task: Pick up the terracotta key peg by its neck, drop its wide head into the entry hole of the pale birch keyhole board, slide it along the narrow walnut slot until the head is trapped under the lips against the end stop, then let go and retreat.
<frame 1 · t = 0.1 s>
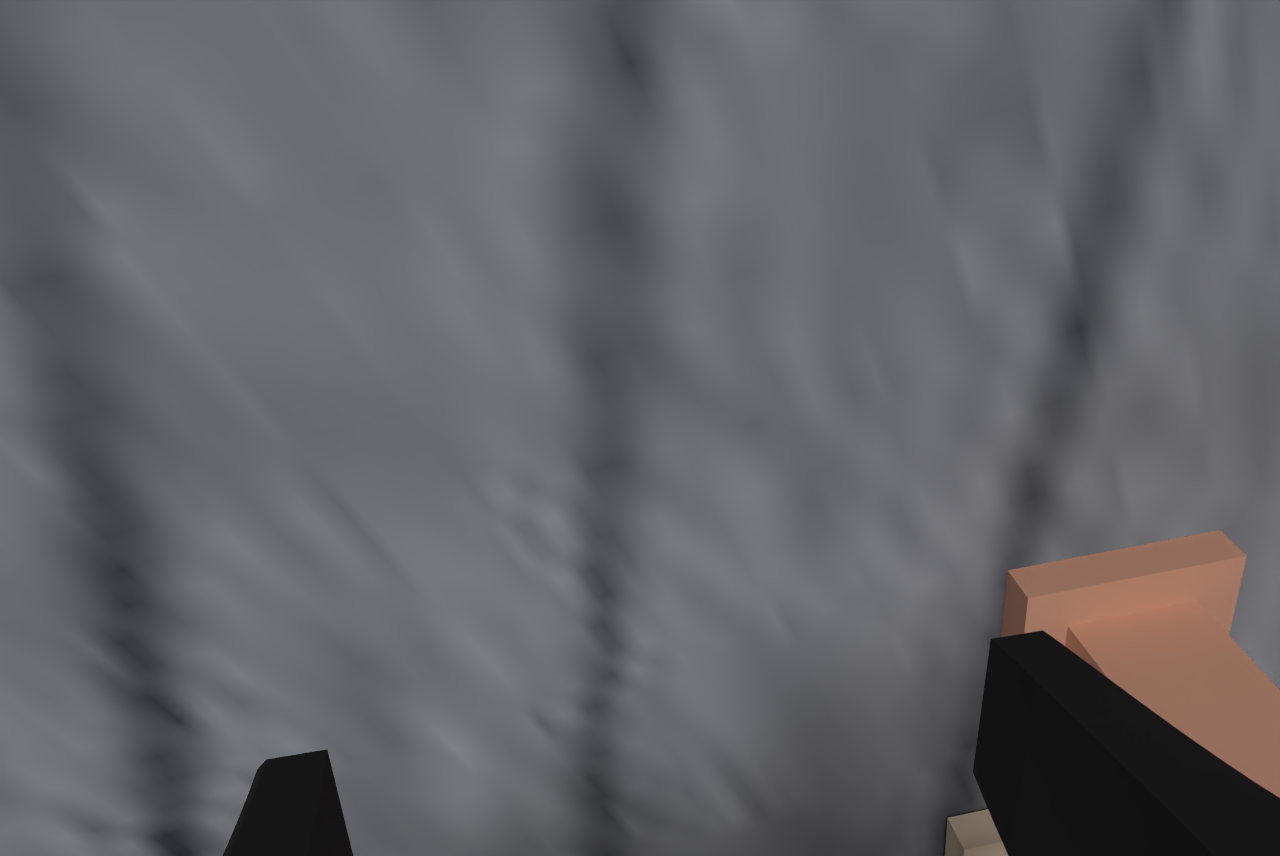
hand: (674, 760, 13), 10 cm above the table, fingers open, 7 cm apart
key peg: (1101, 636, 28), on the table
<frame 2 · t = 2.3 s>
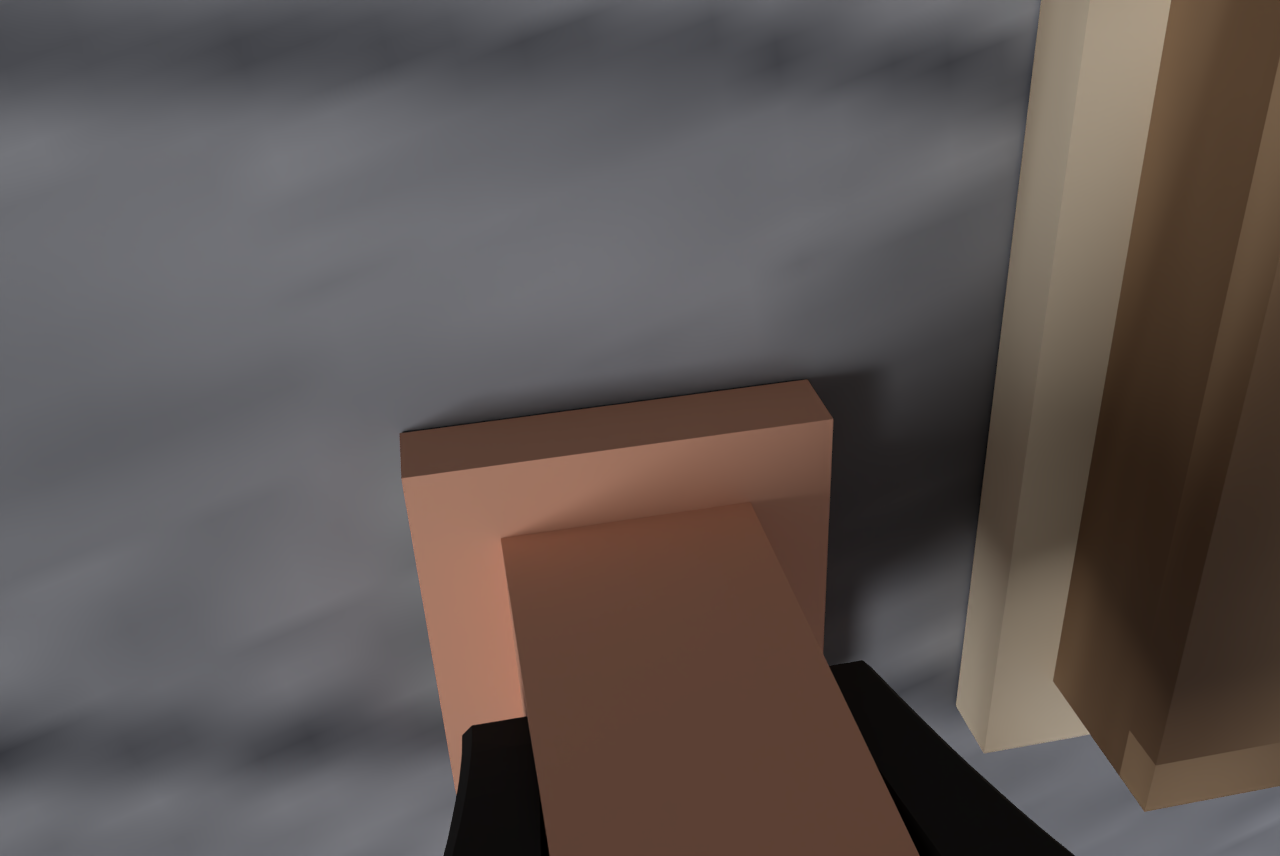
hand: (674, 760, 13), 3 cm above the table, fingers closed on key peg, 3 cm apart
key peg: (619, 570, 16), on the table, touching gripper
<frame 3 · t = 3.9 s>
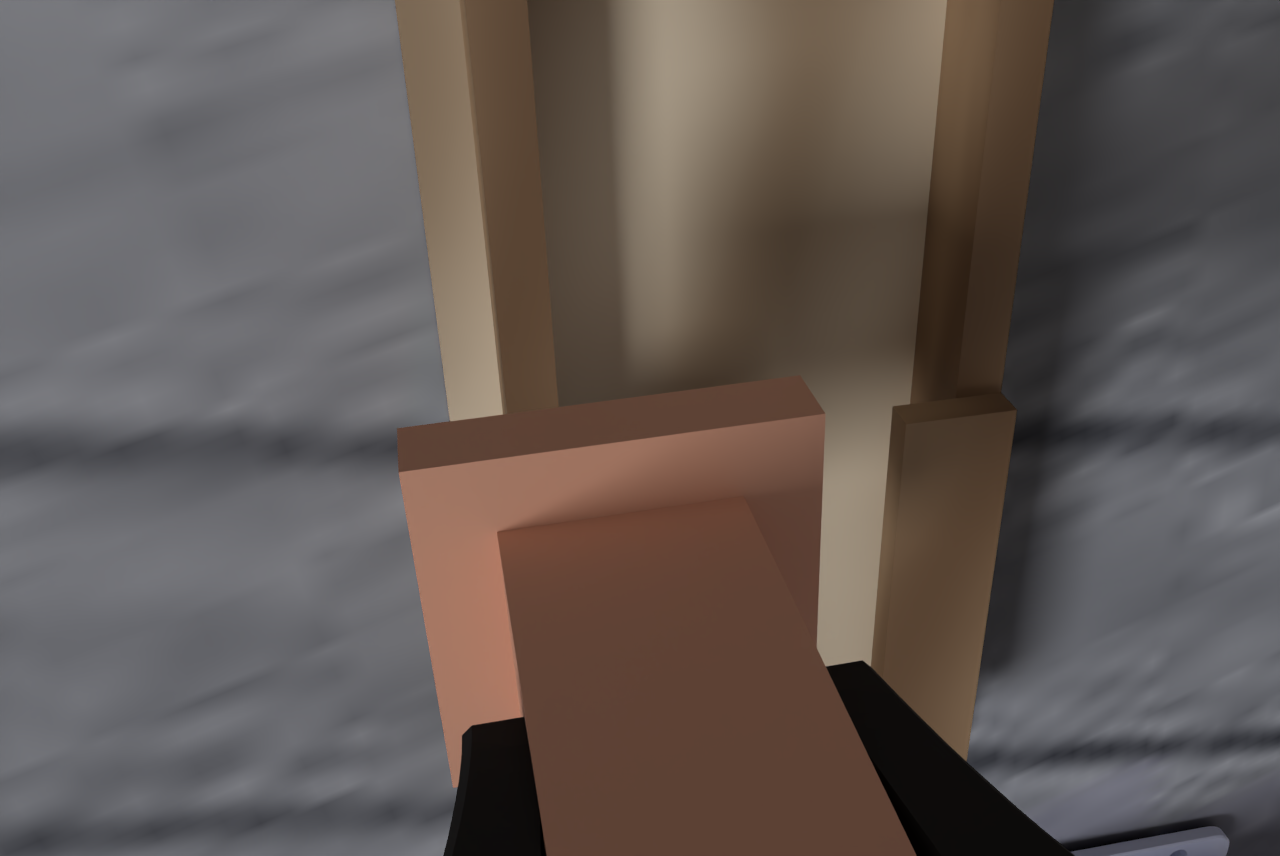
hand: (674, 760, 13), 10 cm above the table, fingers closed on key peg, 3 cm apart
keyhole board: (721, 417, 23), on the table
key peg: (614, 565, 16), point 6 cm above the table, touching gripper
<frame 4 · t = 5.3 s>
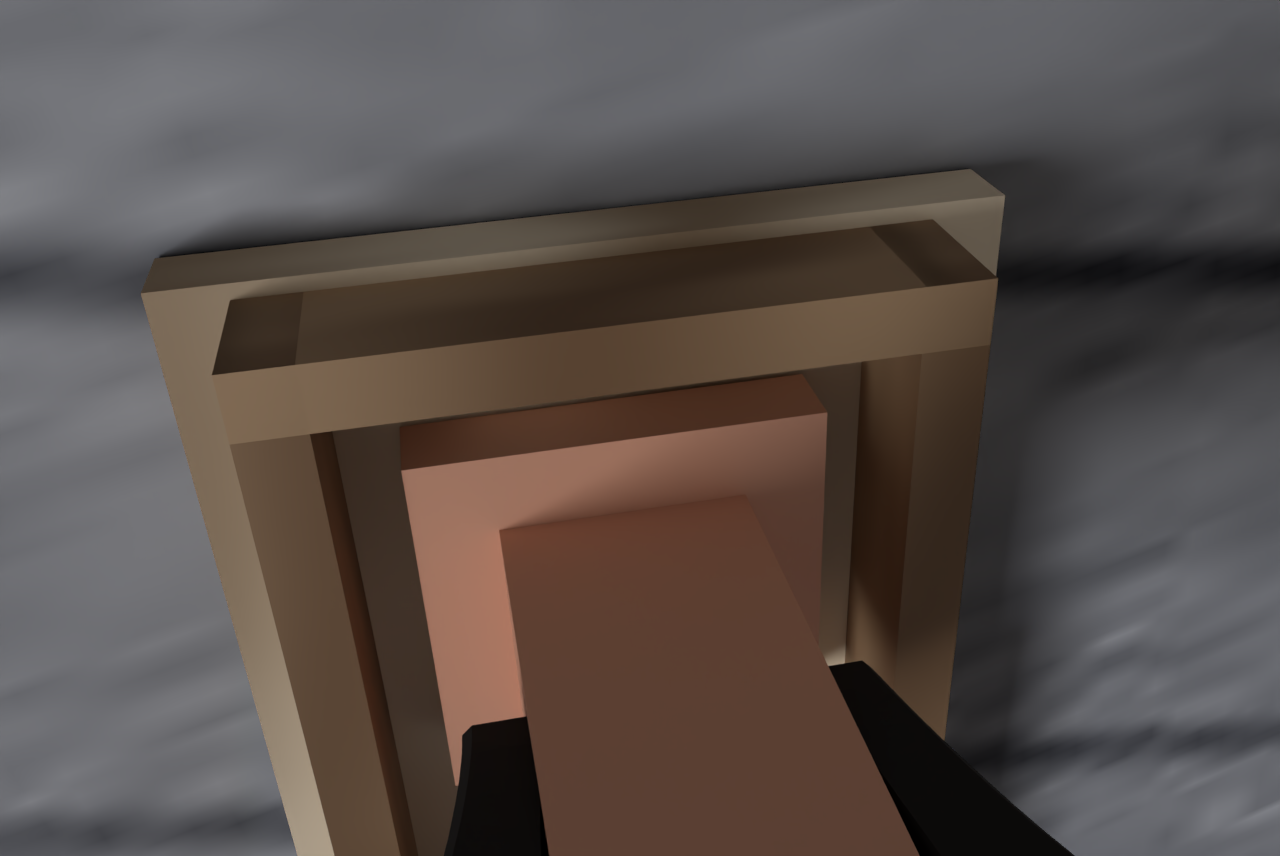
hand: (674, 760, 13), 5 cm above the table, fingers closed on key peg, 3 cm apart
keyhole board: (622, 769, 20), on the table
key peg: (616, 563, 16), point 1 cm above the table, touching gripper
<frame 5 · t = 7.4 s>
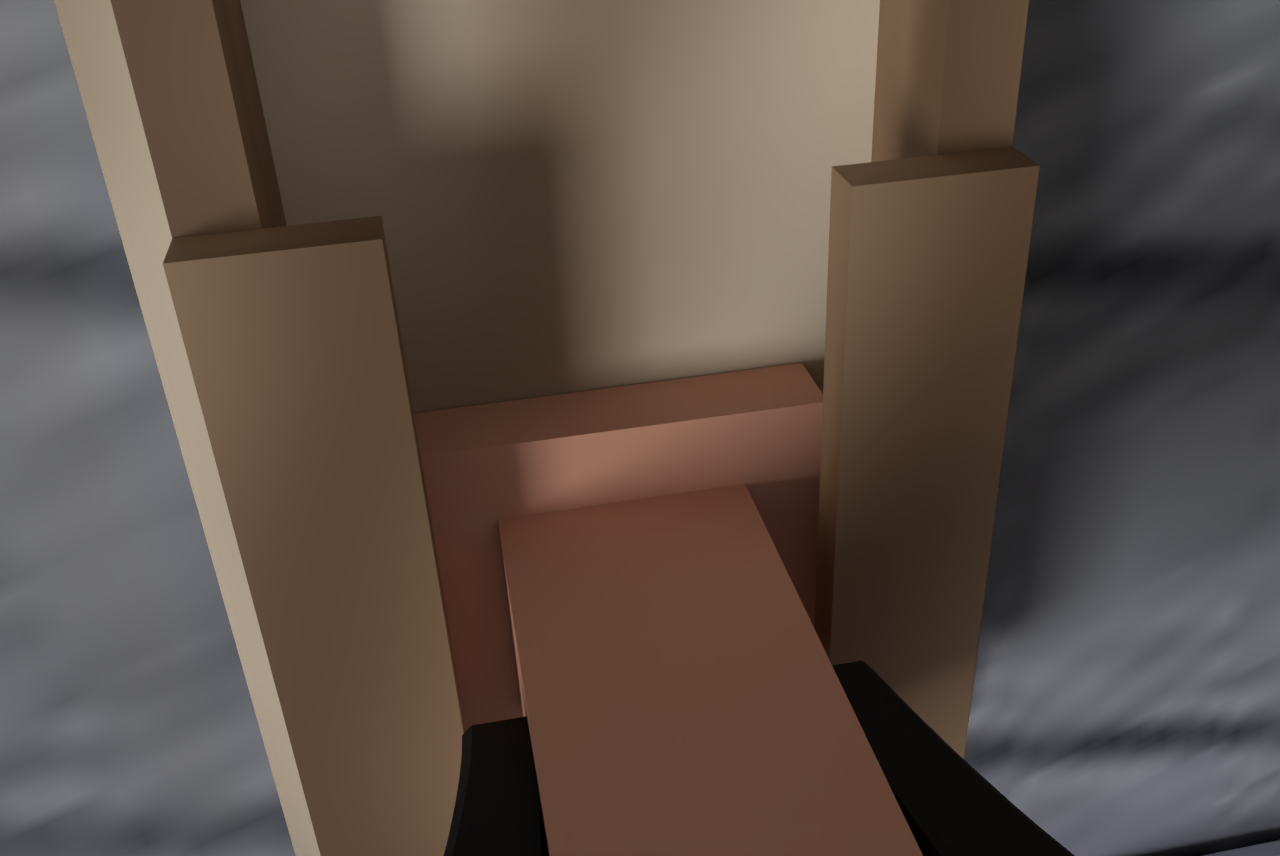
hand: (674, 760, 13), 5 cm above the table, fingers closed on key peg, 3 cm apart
keyhole board: (580, 231, 15), on the table
key peg: (615, 552, 16), point 1 cm above the table, touching gripper
when the fingers open (5 cm above the table, at t = 8.7 s): key peg stays where it is, resting on keyhole board.
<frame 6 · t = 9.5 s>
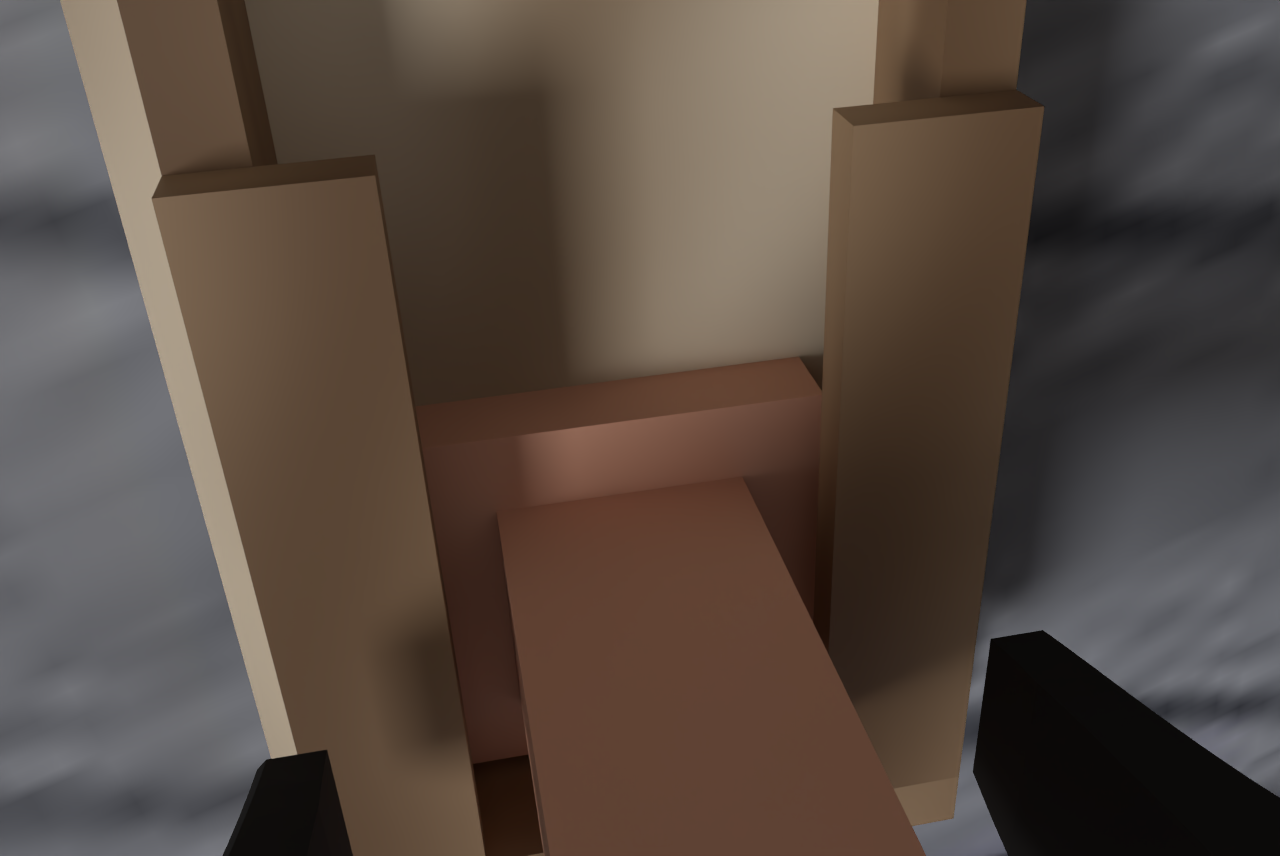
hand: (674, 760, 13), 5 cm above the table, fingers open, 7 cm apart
keyhole board: (578, 185, 15), on the table
key peg: (613, 546, 16), point 1 cm above the table, touching keyhole board
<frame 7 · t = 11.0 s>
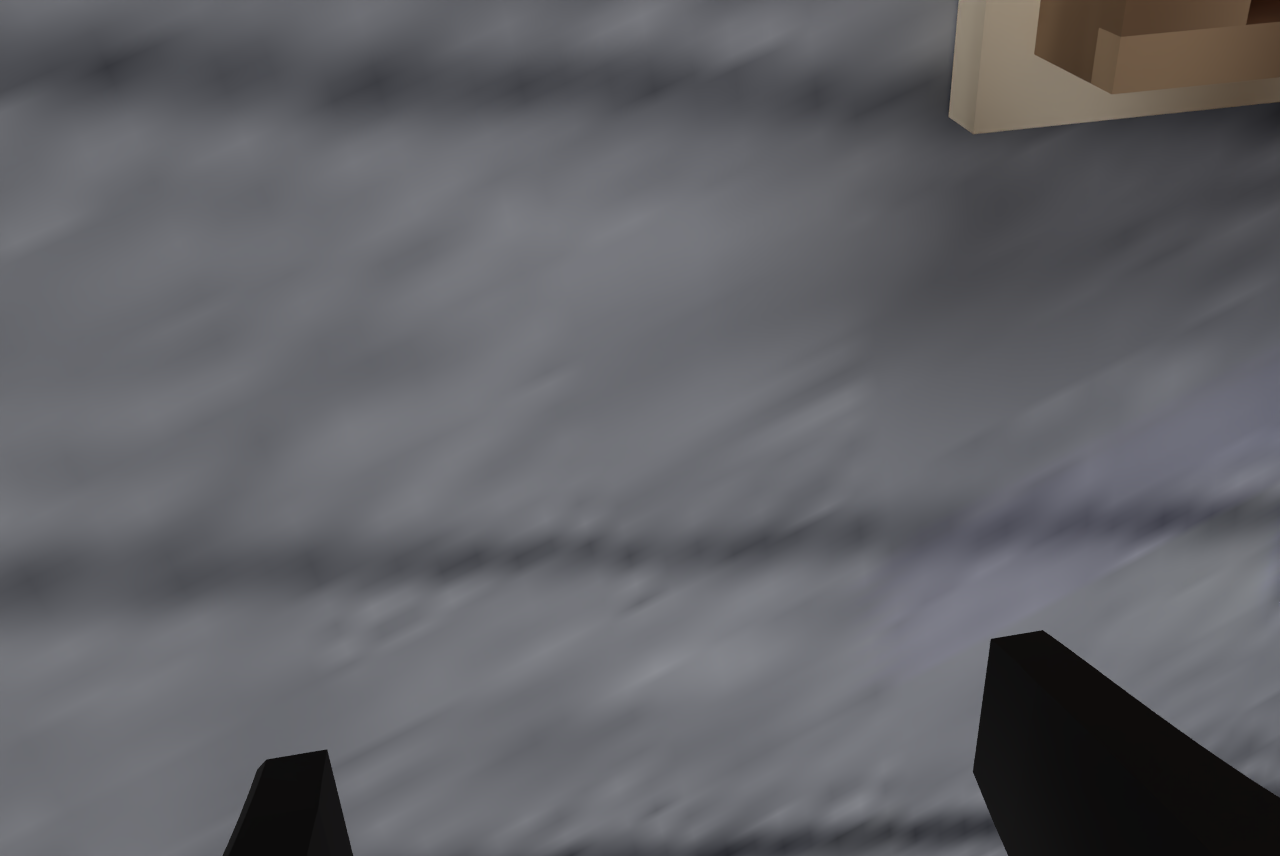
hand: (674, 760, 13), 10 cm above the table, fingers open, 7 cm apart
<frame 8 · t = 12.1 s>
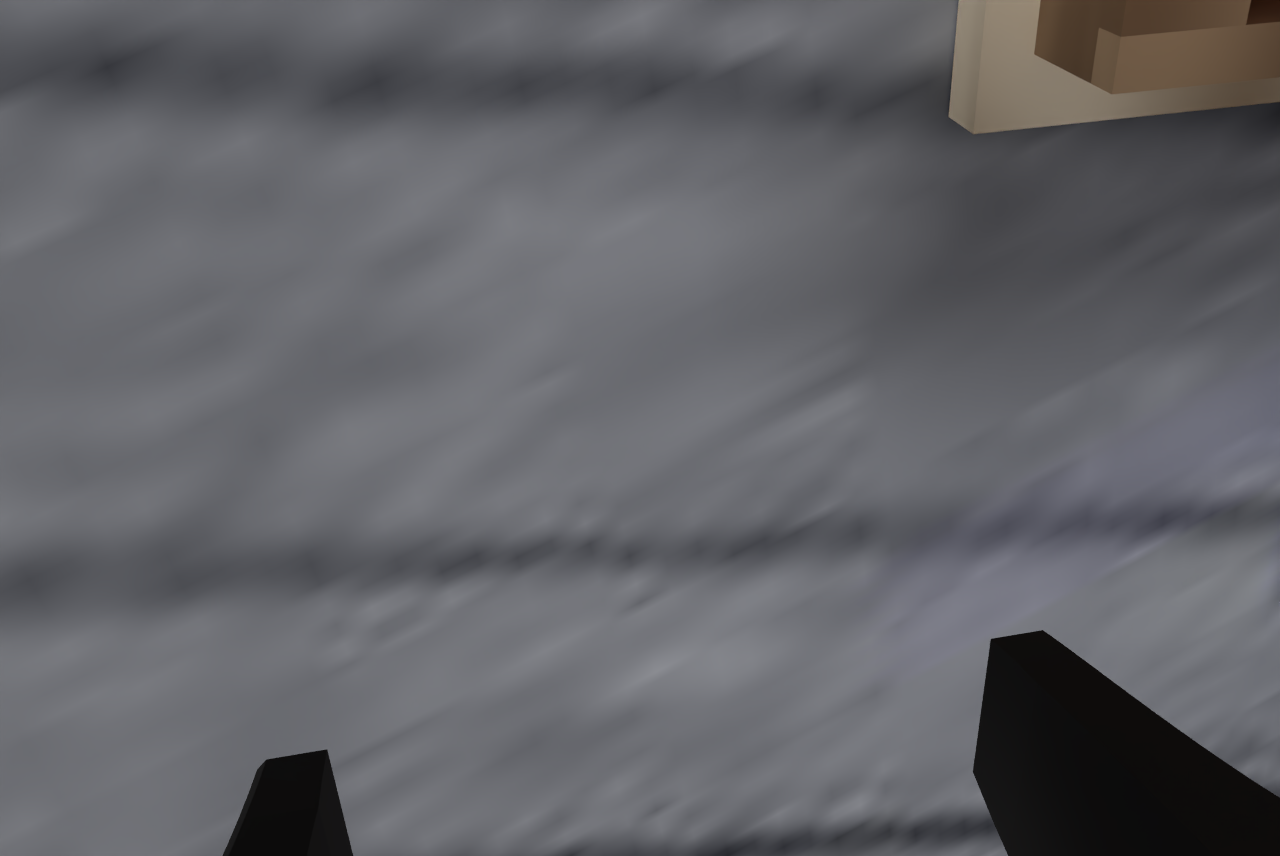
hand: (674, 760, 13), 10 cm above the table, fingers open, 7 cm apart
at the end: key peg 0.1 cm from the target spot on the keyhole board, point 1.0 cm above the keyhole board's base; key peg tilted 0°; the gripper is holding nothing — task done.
